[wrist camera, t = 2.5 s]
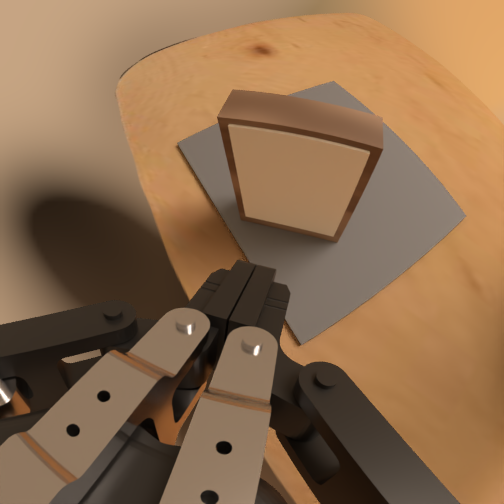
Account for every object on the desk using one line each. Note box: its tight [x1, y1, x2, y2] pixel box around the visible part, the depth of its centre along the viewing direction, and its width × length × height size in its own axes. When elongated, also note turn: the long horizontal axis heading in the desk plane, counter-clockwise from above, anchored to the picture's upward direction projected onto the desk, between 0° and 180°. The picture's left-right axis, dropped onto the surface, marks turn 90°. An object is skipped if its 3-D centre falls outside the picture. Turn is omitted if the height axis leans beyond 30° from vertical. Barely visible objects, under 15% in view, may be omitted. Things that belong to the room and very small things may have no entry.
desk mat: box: [178, 81, 466, 345], centre depth 30 cm, size 26×28×1 cm
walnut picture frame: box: [217, 90, 383, 243], centre depth 22 cm, size 3×10×14 cm, turn 74°
